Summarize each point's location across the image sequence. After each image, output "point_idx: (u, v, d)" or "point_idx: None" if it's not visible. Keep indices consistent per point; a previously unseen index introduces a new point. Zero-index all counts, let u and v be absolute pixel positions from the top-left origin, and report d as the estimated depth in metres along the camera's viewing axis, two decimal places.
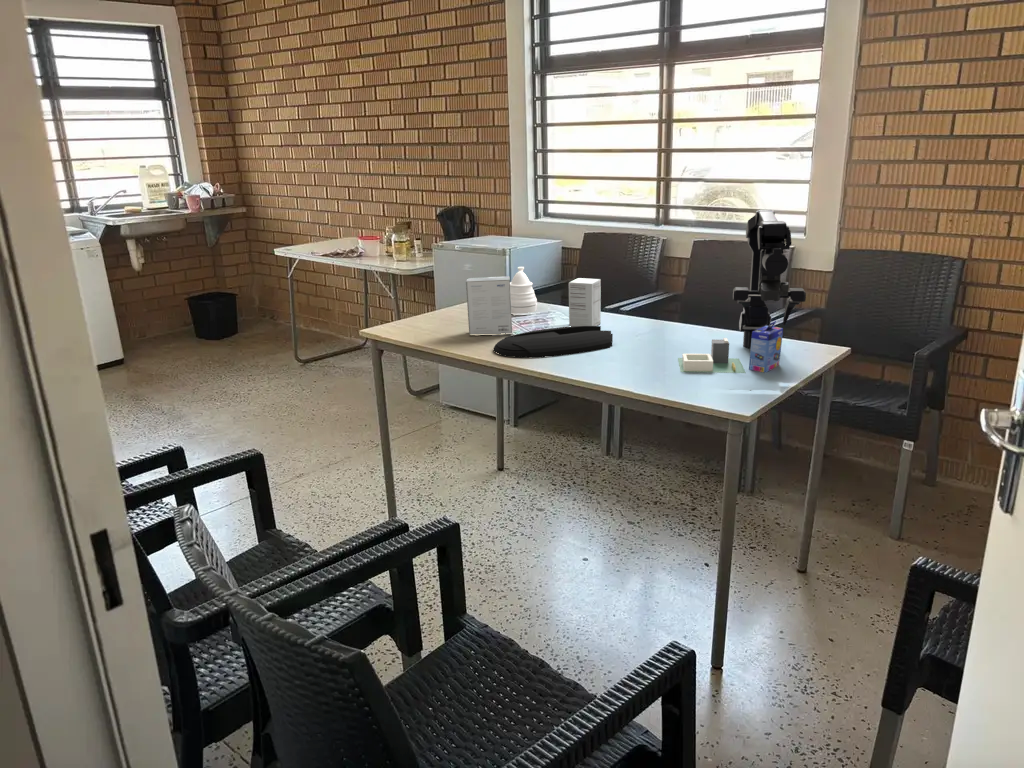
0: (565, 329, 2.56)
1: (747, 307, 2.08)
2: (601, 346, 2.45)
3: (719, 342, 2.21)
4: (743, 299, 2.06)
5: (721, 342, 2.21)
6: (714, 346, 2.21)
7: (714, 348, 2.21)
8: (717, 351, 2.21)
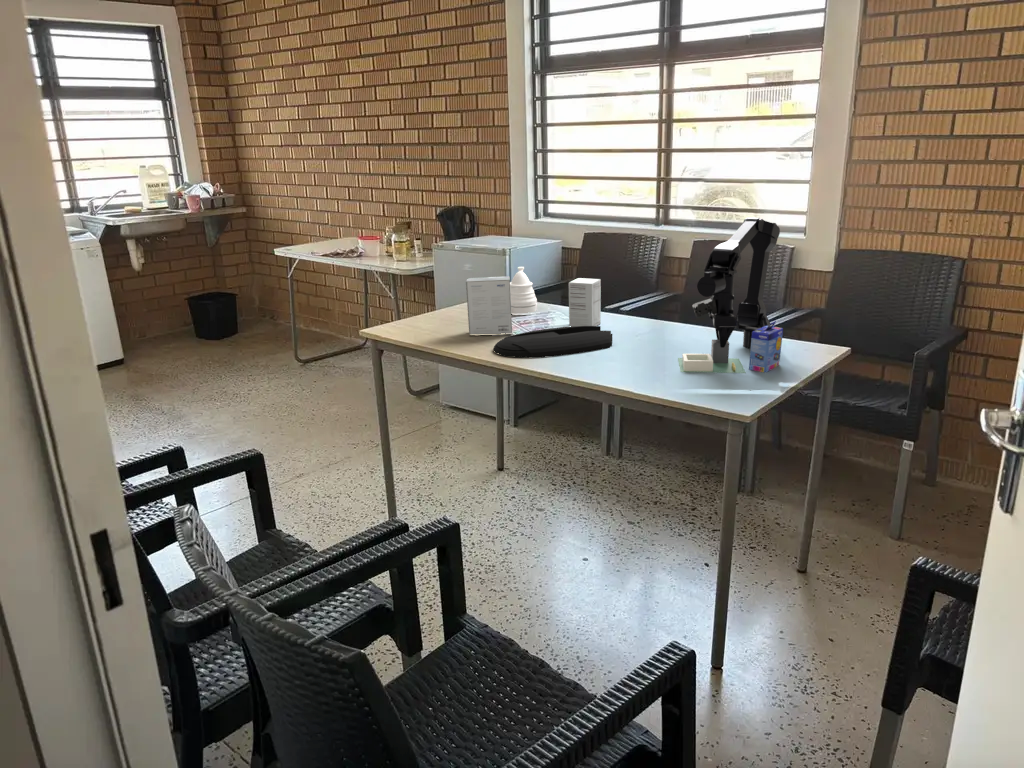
0: (565, 329, 2.56)
1: None
2: (601, 346, 2.45)
3: (719, 342, 2.21)
4: (708, 312, 2.27)
5: None
6: (714, 346, 2.21)
7: (714, 348, 2.21)
8: (717, 351, 2.21)
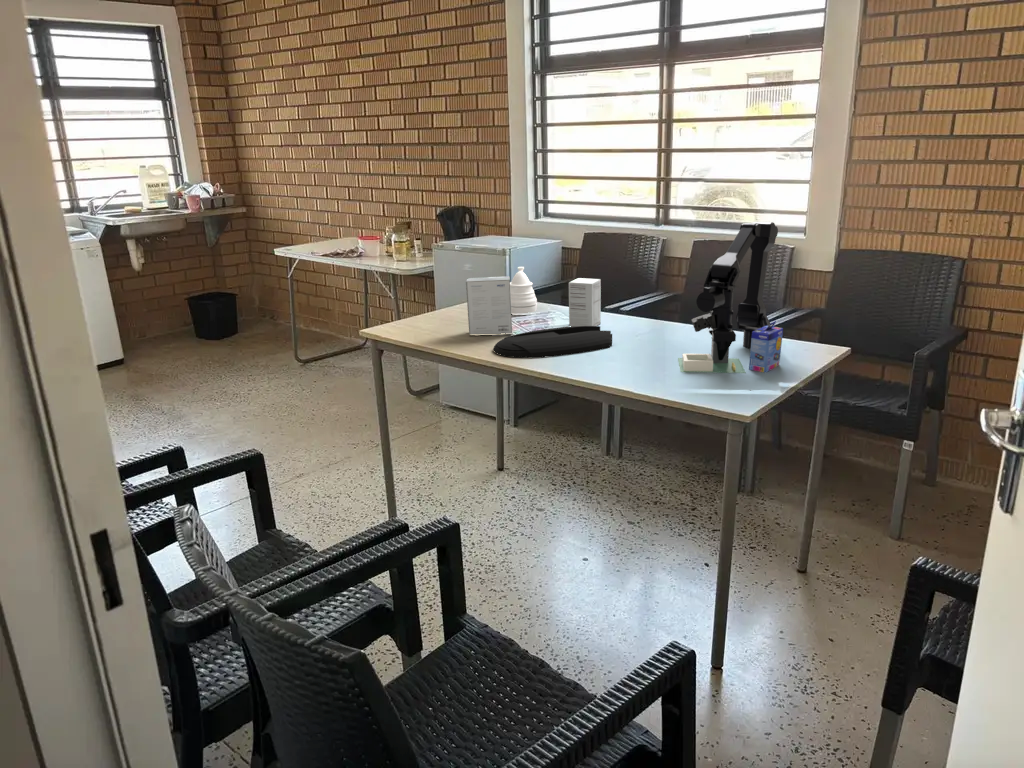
0: (565, 329, 2.56)
1: None
2: (601, 346, 2.45)
3: None
4: (708, 327, 2.28)
5: None
6: (714, 346, 2.21)
7: (714, 348, 2.21)
8: None
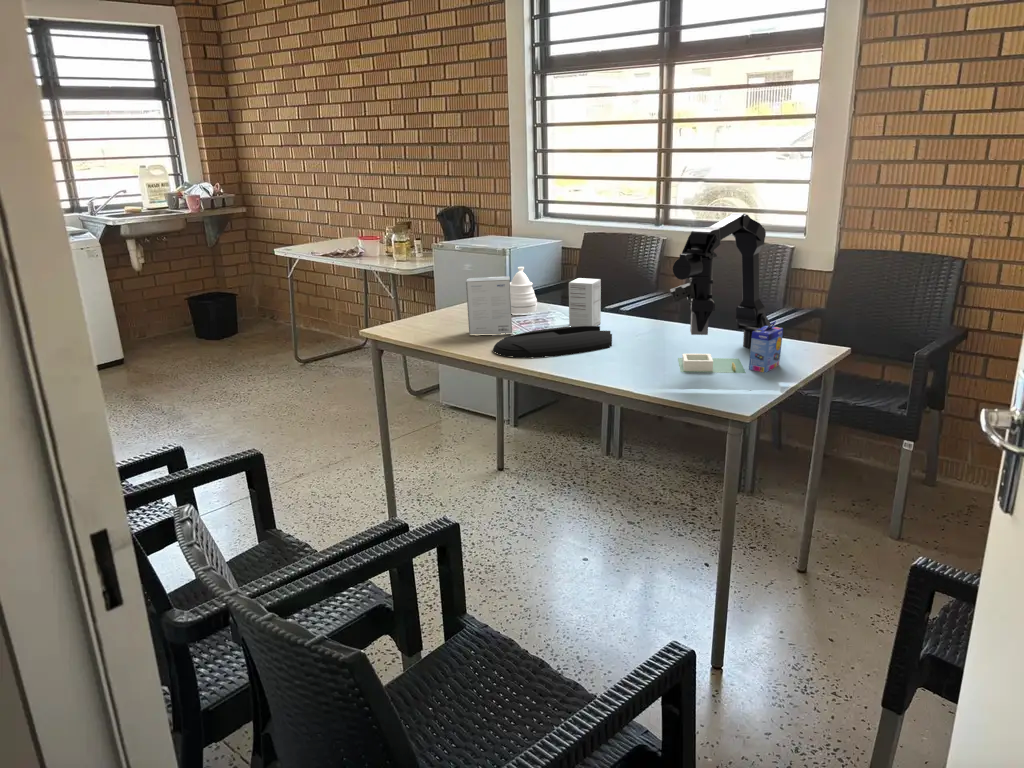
0: (564, 329, 2.56)
1: None
2: (601, 346, 2.45)
3: None
4: (687, 298, 2.20)
5: None
6: (693, 317, 2.12)
7: (693, 319, 2.12)
8: (696, 322, 2.13)
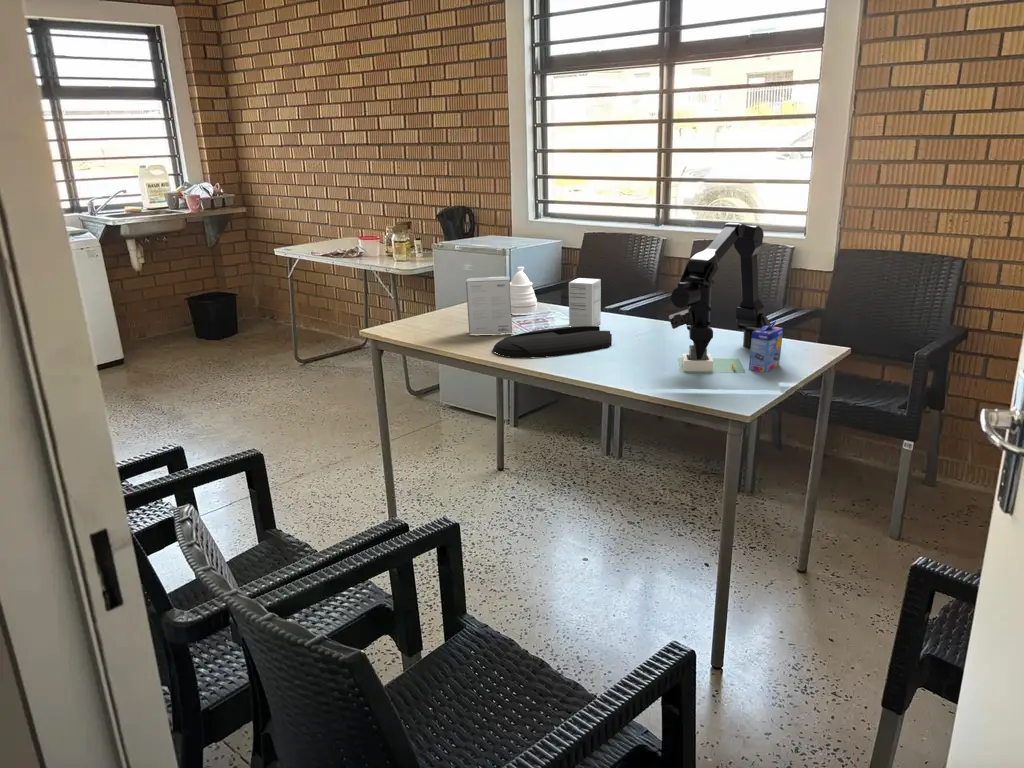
0: (564, 329, 2.56)
1: None
2: (601, 346, 2.45)
3: None
4: (686, 324, 2.22)
5: None
6: (691, 352, 2.15)
7: (691, 354, 2.15)
8: (695, 357, 2.16)
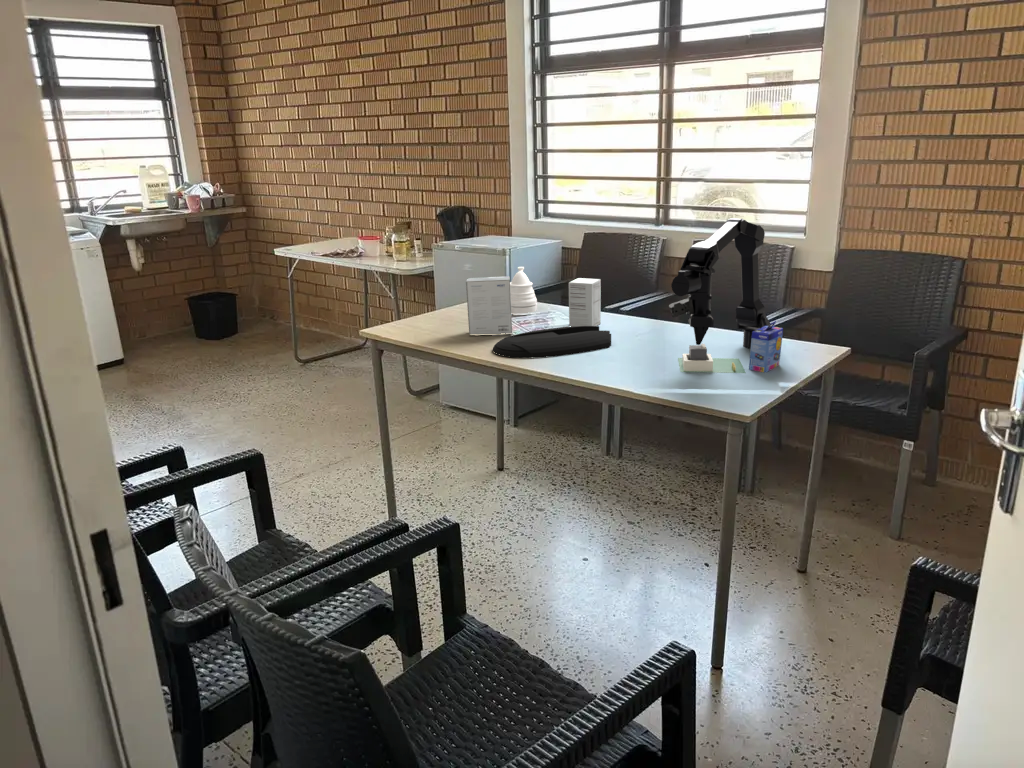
0: (564, 329, 2.56)
1: None
2: (600, 346, 2.45)
3: (697, 348, 2.16)
4: (686, 313, 2.21)
5: (699, 348, 2.16)
6: (691, 352, 2.15)
7: (691, 354, 2.15)
8: (695, 357, 2.16)
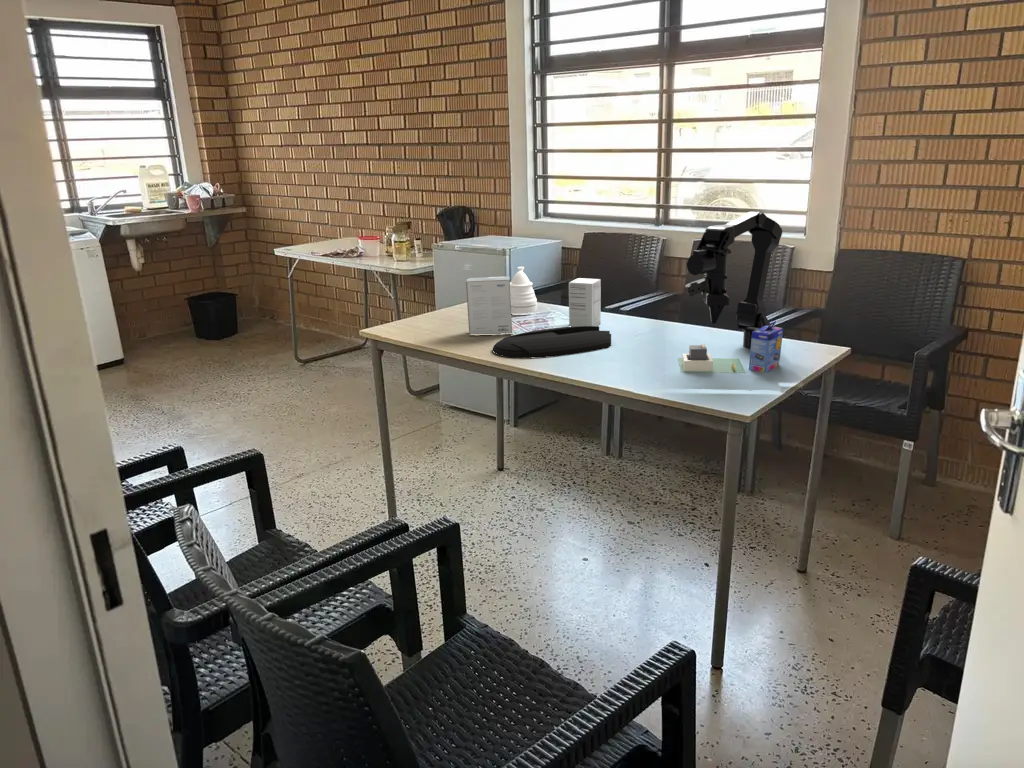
0: (564, 329, 2.56)
1: None
2: (600, 346, 2.45)
3: (697, 348, 2.16)
4: (702, 293, 2.27)
5: (699, 348, 2.16)
6: (691, 352, 2.15)
7: (691, 354, 2.15)
8: (695, 357, 2.16)
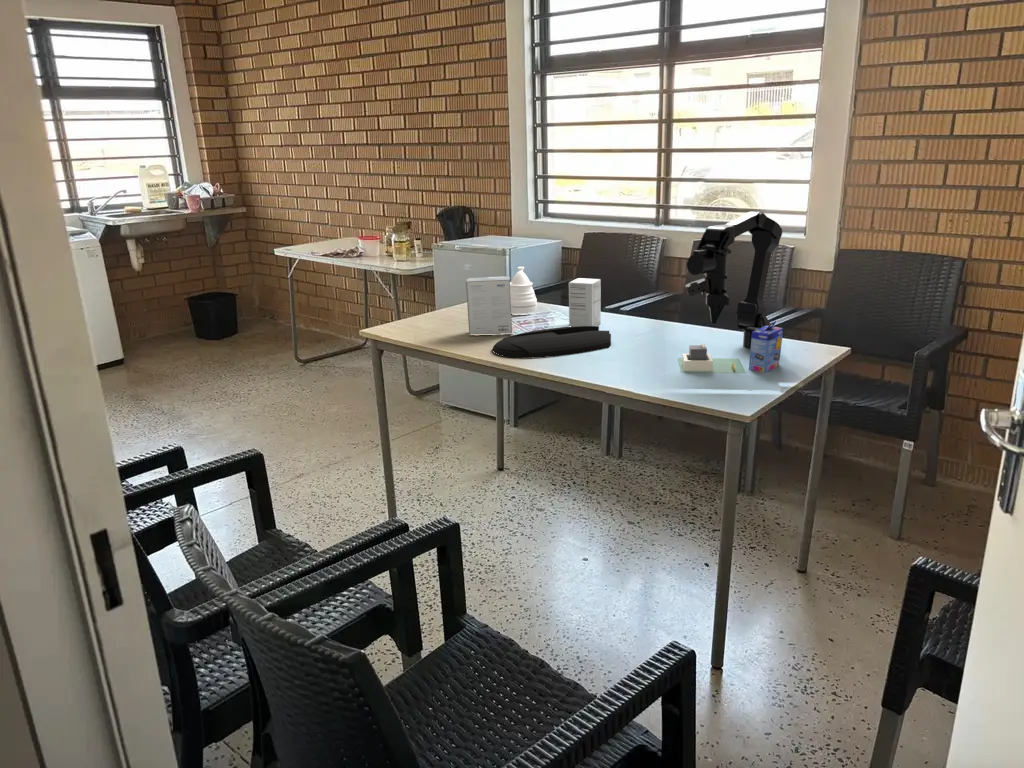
0: (563, 329, 2.56)
1: None
2: (600, 346, 2.45)
3: (697, 348, 2.16)
4: (702, 293, 2.27)
5: (699, 348, 2.16)
6: (691, 352, 2.15)
7: (691, 354, 2.15)
8: (695, 357, 2.16)
